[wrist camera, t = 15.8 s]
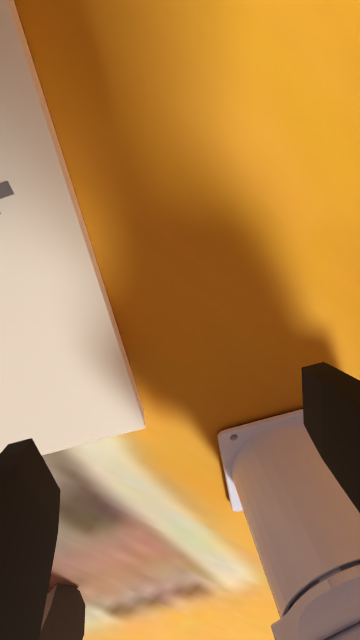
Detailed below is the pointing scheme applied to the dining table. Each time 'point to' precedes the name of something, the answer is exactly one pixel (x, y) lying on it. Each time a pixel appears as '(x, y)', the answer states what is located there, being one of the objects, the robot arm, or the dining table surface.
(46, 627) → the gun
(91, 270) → the marked board
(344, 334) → the dining table surface
